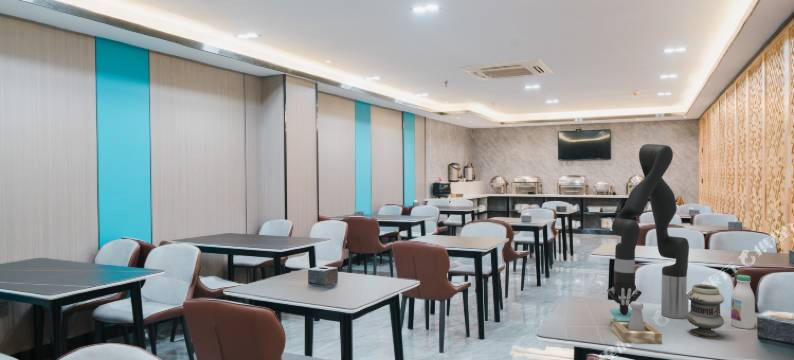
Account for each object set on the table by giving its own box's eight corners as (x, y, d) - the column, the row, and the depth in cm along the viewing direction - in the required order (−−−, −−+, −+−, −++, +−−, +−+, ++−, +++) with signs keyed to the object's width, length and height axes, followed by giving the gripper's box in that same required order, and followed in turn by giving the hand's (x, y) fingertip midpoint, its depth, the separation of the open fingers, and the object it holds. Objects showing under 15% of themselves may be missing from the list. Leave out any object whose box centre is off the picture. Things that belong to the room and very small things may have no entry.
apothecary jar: (684, 335, 193) (685, 287, 193) (688, 327, 203) (689, 281, 202) (722, 341, 186) (723, 291, 186) (724, 333, 196) (725, 285, 196)
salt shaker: (646, 340, 187) (647, 304, 187) (629, 339, 189) (630, 303, 188) (642, 335, 193) (643, 300, 193) (626, 334, 194) (626, 299, 194)
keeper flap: (630, 311, 207) (631, 309, 207) (639, 323, 199) (639, 321, 198) (610, 310, 208) (610, 308, 208) (617, 322, 199) (617, 320, 199)
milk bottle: (752, 324, 206) (753, 274, 206) (756, 330, 199) (757, 278, 199) (729, 322, 209) (730, 273, 209) (732, 327, 202) (733, 276, 202)
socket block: (638, 324, 206) (638, 316, 206) (661, 343, 184) (662, 333, 184) (604, 323, 207) (604, 315, 207) (623, 342, 185) (624, 332, 185)
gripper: (610, 271, 200) (609, 316, 200) (646, 272, 198) (645, 317, 199) (604, 267, 207) (603, 310, 208) (638, 268, 206) (637, 311, 207)
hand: (623, 314), depth 203 cm, fingers closed
